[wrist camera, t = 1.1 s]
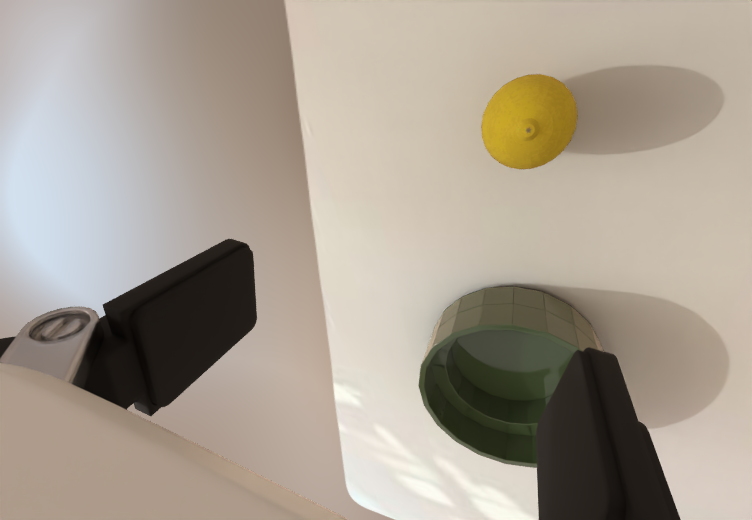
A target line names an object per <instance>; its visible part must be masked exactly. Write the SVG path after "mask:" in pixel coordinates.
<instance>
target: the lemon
mask: <svg viewBox="0 0 752 520" xmlns="http://www.w3.org/2000/svg"><path fill="white" fill-rule="evenodd" d="M577 116H578V115H577V107H576V102H575V100H574V98H573V95H572V93H571V92H570V91H569V89H568V88H567V87H566V86H565V85H564V84H563V83H561V82H560V81H558V80H556V79H555V78H553V77H549V76H545V75H541V74H538V75H526V76H523V77H519V78H516V79H514V80H512V81H511V82H509V83H507V84H505V85H504V86H503V87H502V88H501V89H500V90H498V91H497V92H496V93H495V95H494V96H493V97H492V99H491V100H490V102H489V103H488V105H487V107H486V110H485V112H484V115H483V120H482V126H481V128H482V138H483V141H484V144H485V147H486V149H487V150H488V152H489V153H490V154H491V156H492V157H493V158H494V159H496V160H497V161H498V162H499V163H501V164H503V165H505V166H508V167H510V168H516V169H532V168H535V167H538V166H542V165H544V164H546V163H548V162H549V161H551V160H553V159H554V158H555V157H557V156H558V155H559V154H560V153H561V152H562V151H563V150H564V149H565V147H566V146H567V145H568V143H569V142H570V141H571V138H572V136H573V134H574V131H575V129H576V123H577Z"/></svg>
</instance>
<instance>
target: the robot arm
mask: <svg viewBox="0 0 752 520" xmlns="http://www.w3.org/2000/svg"><path fill="white" fill-rule="evenodd" d="M103 308H104V311H105V314H106V315H105V316H103V317H101V318H100V319H99V316H98V315H97V313H96V311H94V310H92V309H90V308H86V307H68V308H61V309H57V310H54V311H50V312H47V313H45V314H43V315H41V316H39V317H36V318H35V319H33V320H32V321H30V322H28V323H27V324H26V325H25V326H24V327H23V328H22V329H21V331H20V332H19V333H18V335H17V336H16V337H9V338H3V339H0V520H349V519H347V518H345V517H343V516H341V515H339V514H337V513H335V512H333V511H331V510H329V509H327V508H325V507H323V506H321V505H319V504H317V503H314V502H313V501H311V500H309V499H306V498H305V497H303V496H300V495H299V494H297V493H295V492H293V491H291V490H288V489H287V488H284V487H283V486H281V485H279V484H276V483H274V482H272V481H270V480H268V479H266V478H264V477H262V476H260V475H258V474H256V473H254V472H252V471H250V470H248V469H246V468H244V467H242V466H240V465H238V464H236V463H234V462H232V461H230V460H228V459H226V458H224V457H222V456H220V455H218V454H216V453H214V452H212V451H210V450H208V449H206V448H204V447H201V446H200V445H198V444H196V443H194V442H191V441H189V440H187V439H185V438H183V437H181V436H179V435H177V434H175V433H173V432H171V431H169V430H167V429H165V428H163V427H161V426H159V425H157V424H155V423H152V422H151V421H148V420H146V419H144V418H142V417H140V416H138V415H136V414H134V413H132V412H130V411H128V410H127V408H128V407H129V406H130V405H132V404H133V403H134V405H135V408H136V409H137V410H139V411H141V412H143V413H145V414H147V415H149V416H152V415H153V414H154V413H155V412H156V411H158V409H159V408H161V407H165V406H167V405H169V404H170V403H171V402H172V401H174V399H176V398H177V397H178V396H179V395H180V394H181V393H182V392H183V391H184V390H185V389H187V388H188V387H189V386H190V385H191V384H192V383H193V382H194V381H195V380H196V379H198V378H199V377H200V376H201V375H202V374H203V373H204V372H205V371H207V370H208V369H209V368H210V367H211V366H212V365H213V364H214V363H215V362H216V361H218V359H220V358H221V357H222V356H223V355H224V354H225V353H226V352H227V351H228V350H230V349H231V348H232V347H233V346H234V345H235V344H236V343H237V342H238V341H240V339H242V338H243V337H244V336H245V335H246V334H247V333H248V332H250V331H251V330H252V329H253V327H254V326H255V324H256V320H257V313H256V296H255V279H254V262H253V252H252V251H251V250H250V248H249V246H248V245H247V244H246V243H243V242H240V241H236V240H233V239H227V240H225V241H223V242H221V243H219V244H217V245H215V246H213V247H211V248H210V249H208V250H206V251H204V252H202V253H200V254H198V255H196V256H194V257H193V258H191V259H189V260H187V261H185V262H183V263H181V264H179V265H177V266H175V267H173V268H172V269H170V270H168V271H166V272H164V273H162V274H160V275H158V276H157V277H154V278H153V279H151V280H149V281H147V282H145V283H143V284H141V285H139V286H138V287H136V288H134V289H132V290H130V291H128V292H126V293H124V294H122V295H120V296H119V297H117V298H115V299H113V300H111V301H109V302H107V303H105V304H103ZM536 452H537V480H538V507H539V520H680V517H679V514H678V512H677V509H676V506H675V503H674V501H673V498H672V495H671V492H670V489H669V487H668V484H667V481H666V478H665V476H664V473H663V470H662V467H661V464H660V462H659V459H658V456H657V453H656V451H655V448H654V445H653V442H652V439H651V437H650V434H649V432H648V430H647V428H646V426H645V425H644V424H643V423H641V422H638V419H637V416H636V413H635V410H634V407H633V404H632V401H631V398H630V395H629V393H628V390H627V387H626V384H625V381H624V378H623V375H622V372H621V369H620V366H619V363H618V360H617V358H616V356H615V355H613V354H610V353H607V352H603V351H600V350H597V349H593V348H590V347H587V348H586V349H585V350H584V351H579V350H576V351H575V353H574V354H573V356H572V358H571V360H570V362H569V364H568V366H567V368H566V370H565V371H564V373H563V375H562V377H561V379H560V381H559V383H558V385H557V387H556V389H555V391H554V393H553V395H552V396H551V398H550V400H549V402H548V404H547V406H546V408H545V410H544V412H543V414H542V416H541V418H540V420H539V422H538V425H537V429H536Z"/></svg>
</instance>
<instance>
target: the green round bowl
mask: <svg viewBox="0 0 752 520" xmlns="http://www.w3.org/2000/svg"><path fill="white" fill-rule="evenodd" d="M587 347H590V348H593V349H597V350H600V351H603V349H602V346H601V344H600V342H599V340H598V338H597V336H596V334H595V332H594V330H593V328H592V326H591V325H590V323H589V322H588V321H587V320H586V319H585V318H583V317H582V316H581V315H580V314H579V313H578V312H577V311H576V310H575V309H574V308H573V307H572V306H570V305H569V304H567V303H565V302H563V301H561V300H559V299H557V298H554V297H552V296H550V295H548V294H546V293H544V292H541V291H536V290H530V289H525V288H520V287H515V286H510V287H495V288H485V289H482V290H479V291H476V292H474V293H471V294H468V295H465V296H463V297H461V298H460V299H458V300H457V301H456V302H455V303H453V304H452V305H451V306H450V307H448V308H447V309H446V310H445V311H444V312H443V314H442V316H441V317H440V319H439V321H438V322H437V324H436V326H435V328H434V331H433V334H432V336H431V339H430V342H429V345H428V347H427V350H426V353H425V356H424V359H423V361H422V364H421V369H420V378H419V389H420V392H421V396H422V399H423V403H424V406H425V408H426V409H427V411H428V412H429V414H430V415H431V417H432V418H433V420H434V421H435V423H436V424H437V425H438V426H439V427H440V428H441V429H442V430H443V431H445V432H446V433H447V434H448V435H449V436H450V437H451V438H452V439H453V440H455V441H456V442H457V443H459V444H461V445H463V446H464V447H466V448H468V449H470V450H471V451H473V452H475V453H477V454H479V455H481V456H484V457H487V458H490V459H493V460H496V461H499V462H502V463H505V464H511V465H518V466H525V467H533V468H537V452H536V429H537V425H538V422H539V420H540V418H541V416H542V414H543V412H544V410H545V408H546V406H547V404H548V402H549V400H550V398H551V396H552V395H553V393H554V391H555V389H556V387H557V385H558V383H559V381H560V379H561V377H562V375H563V373H564V371H565V370H566V368H567V366H568V364H569V362H570V360H571V358H572V356H573V354H574V353H575V351H576V350H579V351H584V350H585V349H586V348H587Z"/></svg>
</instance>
